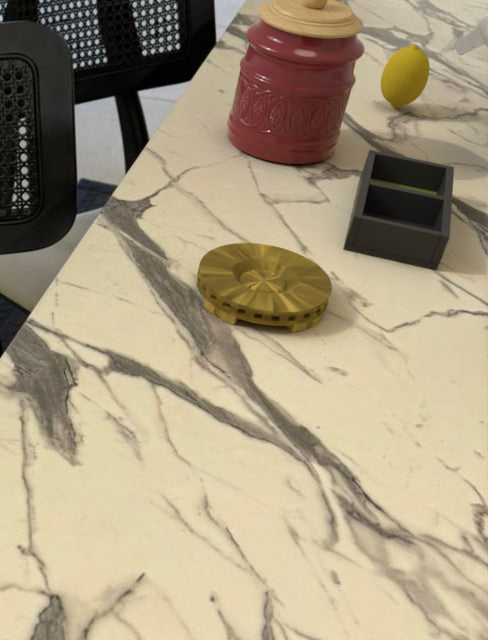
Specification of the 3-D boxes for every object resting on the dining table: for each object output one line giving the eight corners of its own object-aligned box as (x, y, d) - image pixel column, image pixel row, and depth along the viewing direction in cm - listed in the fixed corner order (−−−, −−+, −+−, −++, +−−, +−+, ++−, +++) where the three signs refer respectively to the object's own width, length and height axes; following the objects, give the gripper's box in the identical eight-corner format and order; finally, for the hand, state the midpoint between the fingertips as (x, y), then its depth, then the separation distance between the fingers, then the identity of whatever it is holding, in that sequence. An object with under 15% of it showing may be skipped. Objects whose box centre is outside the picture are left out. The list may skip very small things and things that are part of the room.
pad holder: (442, 197, 113) (454, 166, 110) (436, 270, 100) (449, 237, 98) (359, 179, 115) (369, 149, 112) (343, 249, 102) (353, 216, 100)
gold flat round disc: (194, 323, 90) (199, 301, 89) (194, 256, 99) (198, 236, 97) (331, 341, 89) (338, 320, 88) (319, 272, 98) (325, 252, 97)
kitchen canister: (225, 114, 126) (258, -41, 114) (331, 128, 125) (375, -26, 113) (223, 157, 117) (258, -7, 105) (338, 173, 115) (386, 9, 104)
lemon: (389, 97, 135) (408, 34, 129) (425, 111, 132) (446, 48, 126) (364, 105, 132) (383, 41, 126) (400, 120, 129) (421, 55, 123)
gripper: (574, 19, 105) (450, 84, 116) (632, -17, 117) (514, 45, 128) (550, -39, 104) (427, 33, 115) (610, -69, 116) (494, -2, 127)
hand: (473, 39), depth 122 cm, fingers open, 8 cm apart
